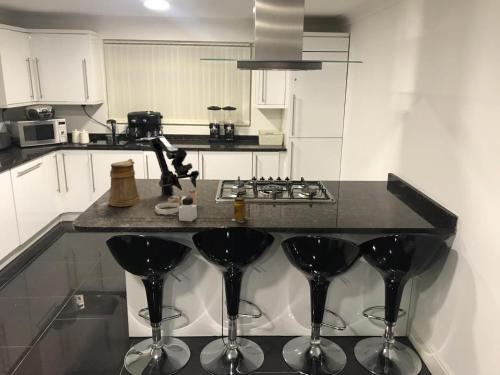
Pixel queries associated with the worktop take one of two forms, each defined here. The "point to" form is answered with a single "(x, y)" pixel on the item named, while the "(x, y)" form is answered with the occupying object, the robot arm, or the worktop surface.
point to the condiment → (240, 210)
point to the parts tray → (175, 200)
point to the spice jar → (193, 196)
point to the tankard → (123, 184)
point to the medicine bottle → (187, 210)
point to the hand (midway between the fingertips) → (188, 188)
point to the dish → (164, 211)
